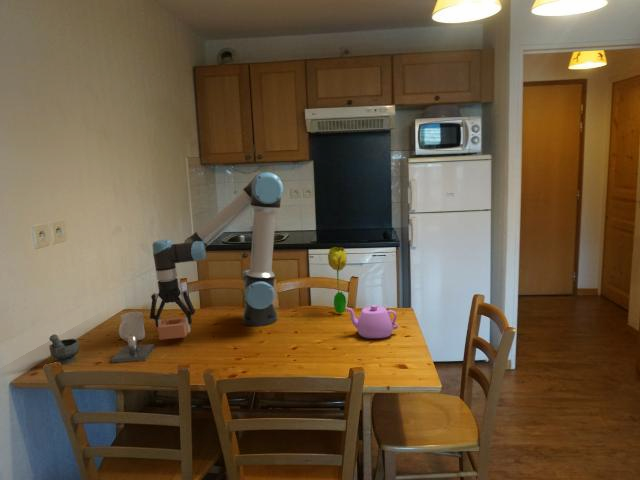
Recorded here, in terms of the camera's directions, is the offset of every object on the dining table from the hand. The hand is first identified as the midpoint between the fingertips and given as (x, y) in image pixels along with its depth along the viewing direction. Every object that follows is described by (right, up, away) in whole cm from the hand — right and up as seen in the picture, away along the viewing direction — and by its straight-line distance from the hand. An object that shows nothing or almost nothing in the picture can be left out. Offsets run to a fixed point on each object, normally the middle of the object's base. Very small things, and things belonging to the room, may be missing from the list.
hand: (175, 333), depth 192 cm
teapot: (+78, 0, -6) cm, 78 cm away
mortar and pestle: (-36, -8, -14) cm, 40 cm away
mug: (-19, -4, +4) cm, 20 cm away
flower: (+67, +4, +21) cm, 70 cm away
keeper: (-12, -6, -12) cm, 18 cm away
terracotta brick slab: (0, 0, 0) cm, 0 cm away
